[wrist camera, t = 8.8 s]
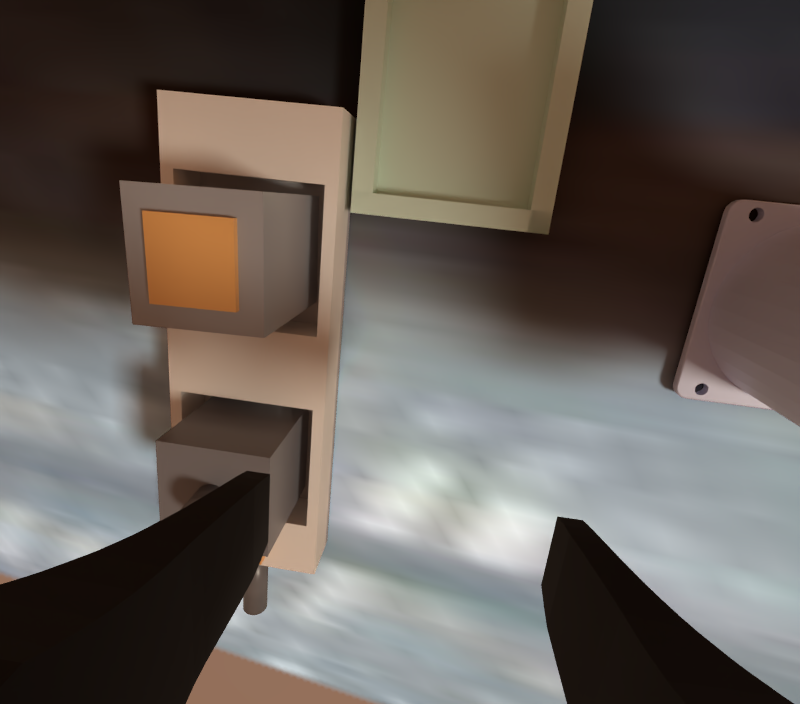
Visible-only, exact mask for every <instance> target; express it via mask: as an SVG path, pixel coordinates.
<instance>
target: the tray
mask: <svg viewBox="0 0 800 704" xmlns="http://www.w3.org/2000/svg"><path fill="white" fill-rule="evenodd" d="M592 5H593V0H365V11H364V25H363V39H362V54H361V68H360V82H359V97H358V111H357V125H356V139H355V154H354V168H353V182H352V196H351V211H350V212H351V213H360V214H369V215H378V216H387V217H395V218H404V219H413V220H422V221H431V222H440V223H449V224H458V225H467V226H476V227H485V228H494V229H503V230H512V231H521V232H530V233H539V234H549V229H550V224H551V218H552V213H553V208H554V203H555V198H556V192H557V187H558V182H559V177H560V171H561V166H562V161H563V156H564V151H565V145H566V140H567V135H568V130H569V124H570V119H571V114H572V109H573V104H574V98H575V93H576V88H577V83H578V78H579V72H580V67H581V62H582V57H583V51H584V46H585V41H586V36H587V31H588V25H589V20H590V15H591V10H592Z"/></svg>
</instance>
